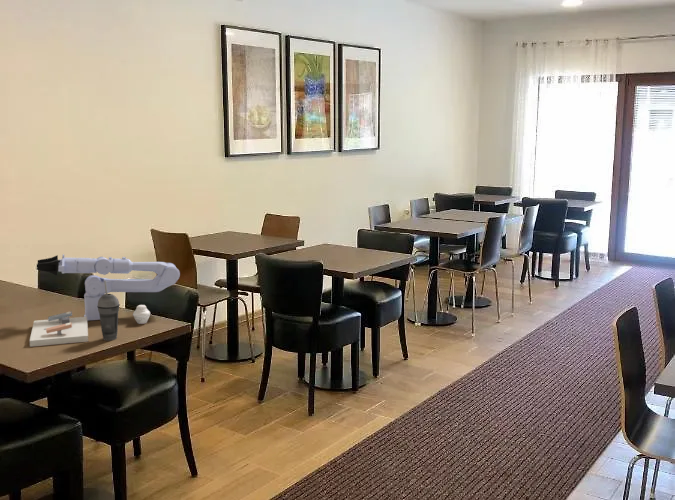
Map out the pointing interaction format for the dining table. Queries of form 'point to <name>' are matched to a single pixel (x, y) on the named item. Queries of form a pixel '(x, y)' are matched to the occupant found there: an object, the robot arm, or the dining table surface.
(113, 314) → the beverage cup
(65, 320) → the block
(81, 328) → the switch panel
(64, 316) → the plate
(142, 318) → the white rounded jar
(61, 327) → the pink plate with label
